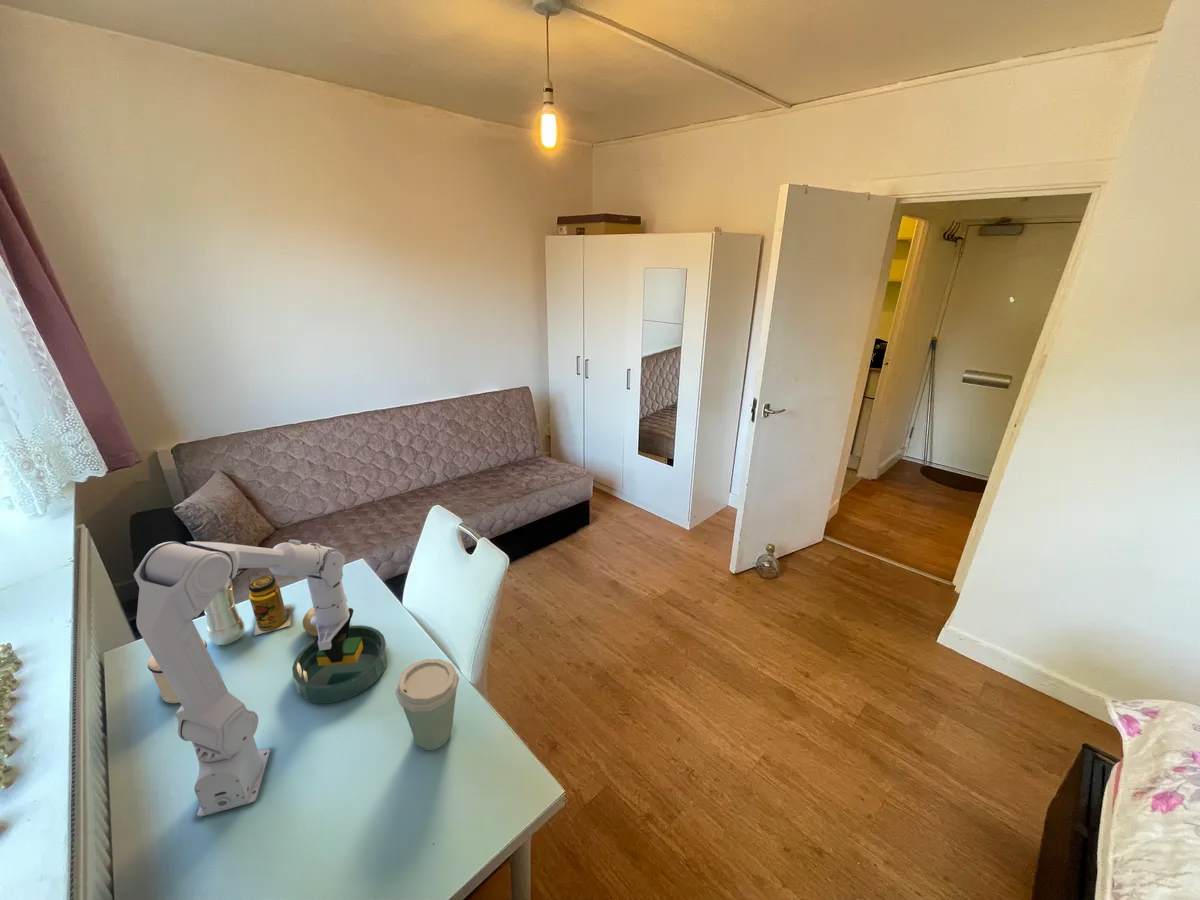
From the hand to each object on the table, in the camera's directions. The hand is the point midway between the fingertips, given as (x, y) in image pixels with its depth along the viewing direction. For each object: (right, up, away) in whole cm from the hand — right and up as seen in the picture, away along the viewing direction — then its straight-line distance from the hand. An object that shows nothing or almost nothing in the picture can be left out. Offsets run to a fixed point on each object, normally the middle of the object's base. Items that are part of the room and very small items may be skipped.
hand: (340, 651), depth 103 cm
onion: (-11, 0, +13) cm, 17 cm away
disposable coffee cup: (+24, -11, -11) cm, 29 cm away
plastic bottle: (-31, -1, +10) cm, 32 cm away
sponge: (0, -1, +1) cm, 1 cm away
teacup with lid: (-30, -6, -2) cm, 31 cm away
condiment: (-24, +1, +16) cm, 29 cm away
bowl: (0, -5, +2) cm, 5 cm away
